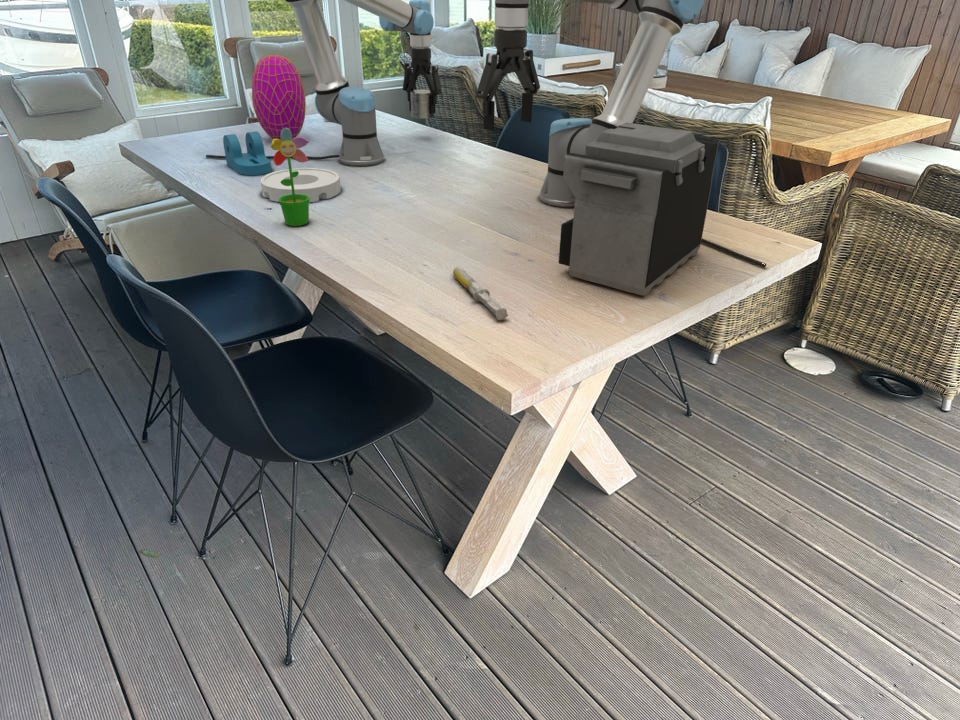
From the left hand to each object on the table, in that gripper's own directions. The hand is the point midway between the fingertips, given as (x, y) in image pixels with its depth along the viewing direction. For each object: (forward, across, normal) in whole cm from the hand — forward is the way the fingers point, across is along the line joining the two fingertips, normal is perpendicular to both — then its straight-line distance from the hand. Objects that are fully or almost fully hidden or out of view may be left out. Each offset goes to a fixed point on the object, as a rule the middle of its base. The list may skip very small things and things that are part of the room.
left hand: (422, 112), depth 263 cm
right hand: (-16, -77, +74) cm, 107 cm away
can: (+2, 0, 0) cm, 2 cm away
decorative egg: (+11, +44, +30) cm, 54 cm away
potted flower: (+11, -27, +97) cm, 102 cm away
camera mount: (+11, +24, +66) cm, 71 cm away
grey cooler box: (+11, -113, +77) cm, 137 cm away
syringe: (+11, -91, +112) cm, 145 cm away
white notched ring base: (+11, -8, +76) cm, 77 cm away
